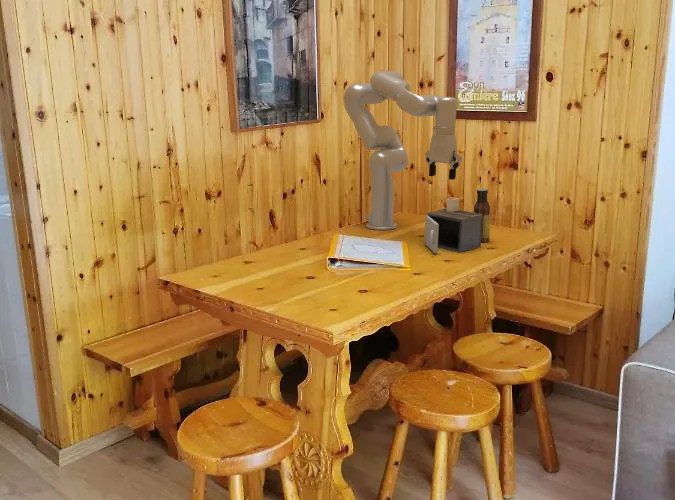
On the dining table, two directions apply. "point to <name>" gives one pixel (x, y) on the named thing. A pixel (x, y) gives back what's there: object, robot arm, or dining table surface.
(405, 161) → the robot arm
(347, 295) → the dining table surface
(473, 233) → the dark grey box
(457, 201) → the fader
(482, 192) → the sauce bottle
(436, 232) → the door
